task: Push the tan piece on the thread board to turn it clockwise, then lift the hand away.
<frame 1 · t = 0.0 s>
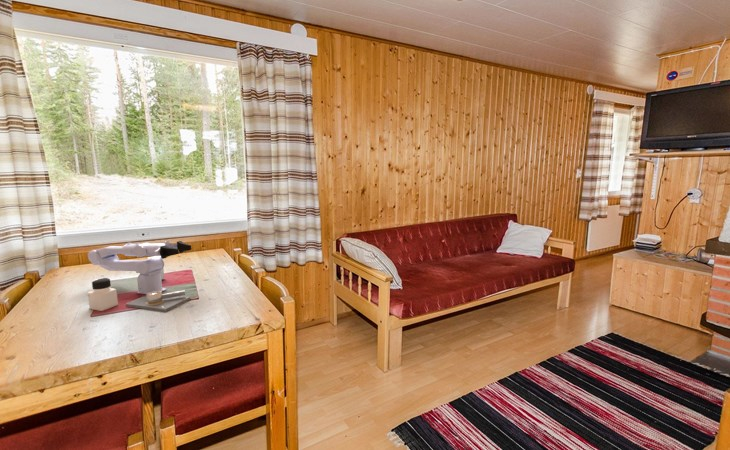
hand: (184, 249, 157), 22 cm above the table, tool horizontal, fingers open, 7 cm apart
skincare box: (156, 280, 182), on the table
thread board: (159, 302, 153), on the table
medicine bottle: (104, 307, 148), on the table
tan piece: (166, 294, 153), point 3 cm above the table, hinge at 0.0°
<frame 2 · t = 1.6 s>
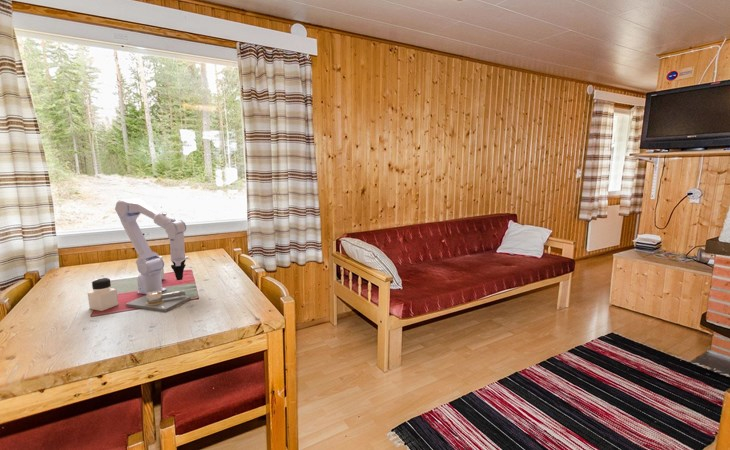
hand: (179, 277, 161), 8 cm above the table, tool pointing down, fingers open, 7 cm apart
nothing on the table moved.
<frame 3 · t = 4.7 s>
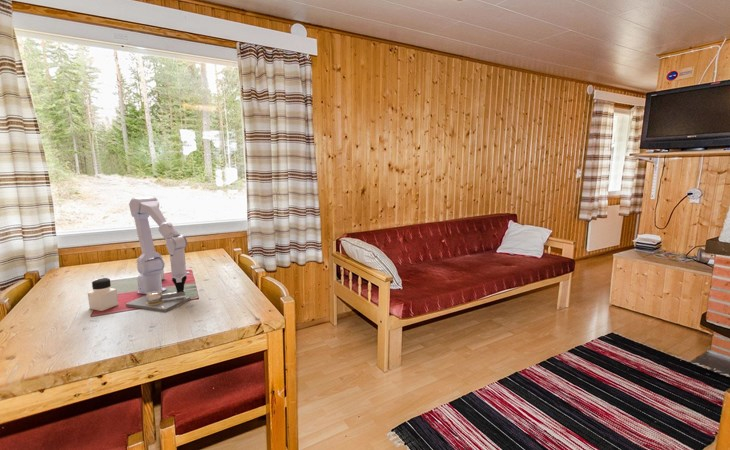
hand: (180, 293, 157), 3 cm above the table, tool pointing down, fingers closed
tan piece: (166, 294, 153), point 3 cm above the table, hinge at 2.6°, touching gripper
everything else where it was.
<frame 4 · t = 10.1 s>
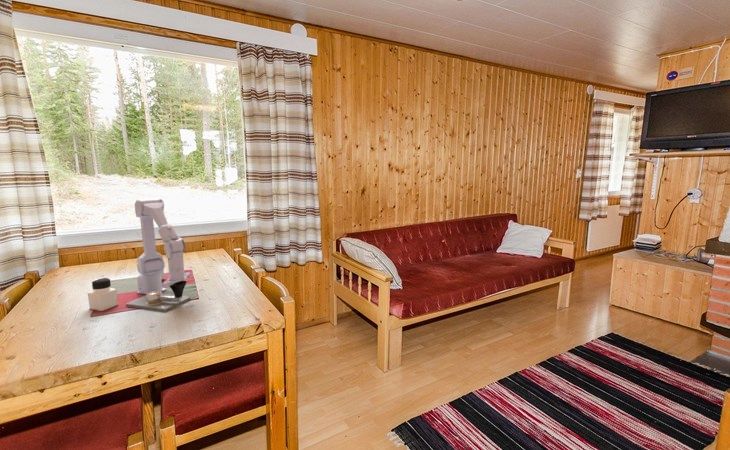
hand: (178, 298, 151), 3 cm above the table, tool pointing down, fingers closed
tan piece: (164, 297, 150), point 3 cm above the table, hinge at 41.5°, touching gripper
everything else where it was.
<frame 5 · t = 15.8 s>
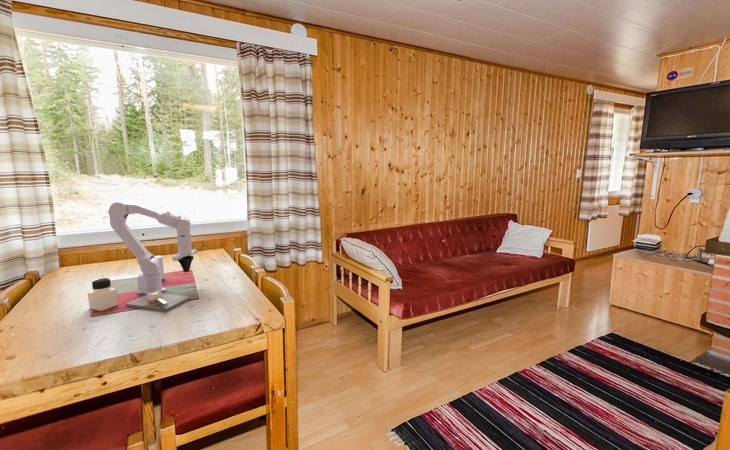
hand: (186, 271, 169), 8 cm above the table, tool pointing down, fingers closed
tan piece: (158, 299, 148), point 3 cm above the table, hinge at 75.6°
everything else where it was.
at the end: tan piece at +76° (first picture: +0°); the gripper is holding nothing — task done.
